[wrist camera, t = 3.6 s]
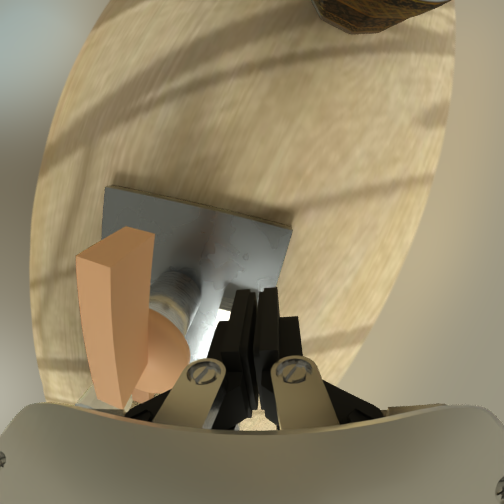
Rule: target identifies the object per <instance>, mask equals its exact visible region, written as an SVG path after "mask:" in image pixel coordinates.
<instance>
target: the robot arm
mask: <svg viewBox="0 0 504 504" xmlns="http://www.w3.org/2000/svg"><path fill="white" fill-rule="evenodd" d="M258 397H260V404H261V409H262V410H265V417H266V418H267V419H269V420H270V421H271V422H273V423H274V424H275V425H276V430H271V431H239V430H240V422H241V421H243V420H244V419H246V418H252V410H257V408H258ZM0 504H504V425H503V424H502V422H501V421H500V420H499V419H498V418H497V416H496V415H495V414H493V413H492V412H491V411H490V410H488V409H486V408H484V407H481V406H476V405H446V404H439V403H438V404H428V405H416V406H400V407H388V409H387V410H380V409H379V408H377V407H376V406H374V405H372V404H370V403H368V402H366V401H364V400H362V399H360V398H358V397H356V396H354V395H352V394H350V393H348V392H346V391H344V390H341V389H339V388H338V387H336V386H334V385H332V384H330V383H328V382H326V381H324V380H322V377H321V375H320V372H319V370H318V367H317V365H316V364H315V362H314V361H312V360H311V359H309V358H307V357H304V356H303V354H302V345H301V337H300V329H299V321H298V316H294V317H280V315H279V302H278V289H277V287H271V288H264V291H263V292H259V297H258V307H257V300H256V293H255V292H251V291H250V289H241V290H236V294H235V297H234V301H233V305H232V309H231V313H230V316H229V320H220V321H218V323H217V326H216V329H215V332H214V335H213V338H212V342H211V345H210V348H209V351H208V354H207V357H206V358H204V359H198V360H196V361H193V362H191V363H190V364H189V365H187V366H186V367H185V369H184V370H183V372H182V373H181V375H180V376H179V378H178V380H177V381H176V383H175V385H174V386H173V388H172V389H170V390H168V391H166V392H164V393H162V394H160V395H158V396H156V397H154V398H152V399H150V400H148V401H146V402H143V403H141V404H139V405H137V406H135V407H133V408H132V409H130V410H129V411H128V412H125V410H124V409H90V408H83V407H79V406H75V405H70V404H64V403H55V402H44V403H43V402H42V403H34V404H30V405H28V406H26V407H24V408H23V409H22V410H21V411H20V412H19V413H18V414H17V415H16V416H15V417H14V419H13V420H12V421H11V422H10V423H9V425H8V426H7V427H6V429H5V430H4V432H3V433H2V434H1V436H0Z"/></svg>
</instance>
